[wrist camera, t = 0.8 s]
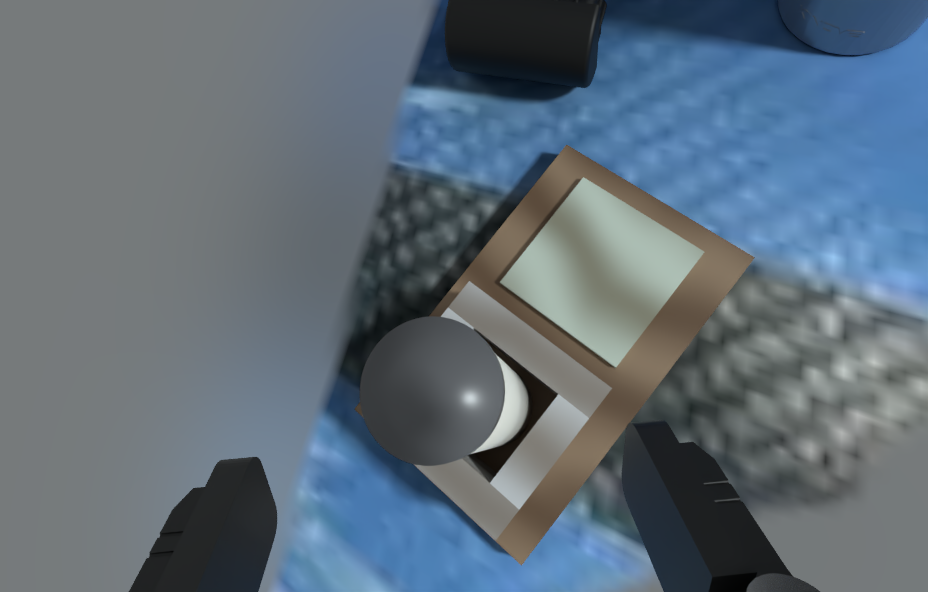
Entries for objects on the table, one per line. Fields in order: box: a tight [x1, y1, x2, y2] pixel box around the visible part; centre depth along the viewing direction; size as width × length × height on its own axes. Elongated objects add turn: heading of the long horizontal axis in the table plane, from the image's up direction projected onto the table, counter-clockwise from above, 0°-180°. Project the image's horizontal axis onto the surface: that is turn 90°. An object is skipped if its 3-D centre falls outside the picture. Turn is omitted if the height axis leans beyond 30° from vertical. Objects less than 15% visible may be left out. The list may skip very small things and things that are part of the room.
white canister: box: [360, 316, 532, 466], centre depth 25 cm, size 5×5×15 cm
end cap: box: [445, 0, 607, 88], centre depth 37 cm, size 10×7×7 cm
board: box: [355, 145, 755, 565], centre depth 32 cm, size 23×14×6 cm, turn 141°
